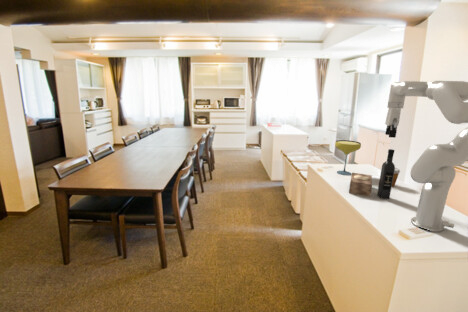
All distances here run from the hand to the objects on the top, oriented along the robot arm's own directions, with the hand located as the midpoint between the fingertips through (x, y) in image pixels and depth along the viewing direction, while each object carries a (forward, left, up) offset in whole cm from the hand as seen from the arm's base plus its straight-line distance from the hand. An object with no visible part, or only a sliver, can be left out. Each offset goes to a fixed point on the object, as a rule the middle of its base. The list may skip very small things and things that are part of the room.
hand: (390, 135), depth 142 cm
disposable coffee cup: (-7, -29, -38) cm, 48 cm away
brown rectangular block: (+11, -9, -38) cm, 41 cm away
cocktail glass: (+23, -42, -38) cm, 61 cm away
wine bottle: (-2, -2, -38) cm, 38 cm away
